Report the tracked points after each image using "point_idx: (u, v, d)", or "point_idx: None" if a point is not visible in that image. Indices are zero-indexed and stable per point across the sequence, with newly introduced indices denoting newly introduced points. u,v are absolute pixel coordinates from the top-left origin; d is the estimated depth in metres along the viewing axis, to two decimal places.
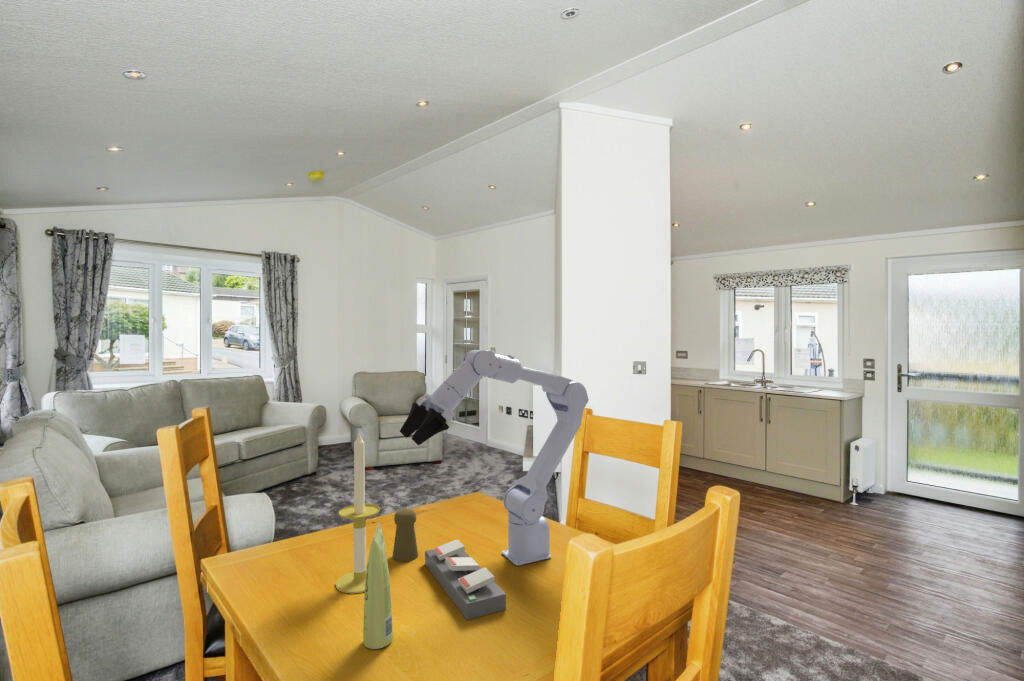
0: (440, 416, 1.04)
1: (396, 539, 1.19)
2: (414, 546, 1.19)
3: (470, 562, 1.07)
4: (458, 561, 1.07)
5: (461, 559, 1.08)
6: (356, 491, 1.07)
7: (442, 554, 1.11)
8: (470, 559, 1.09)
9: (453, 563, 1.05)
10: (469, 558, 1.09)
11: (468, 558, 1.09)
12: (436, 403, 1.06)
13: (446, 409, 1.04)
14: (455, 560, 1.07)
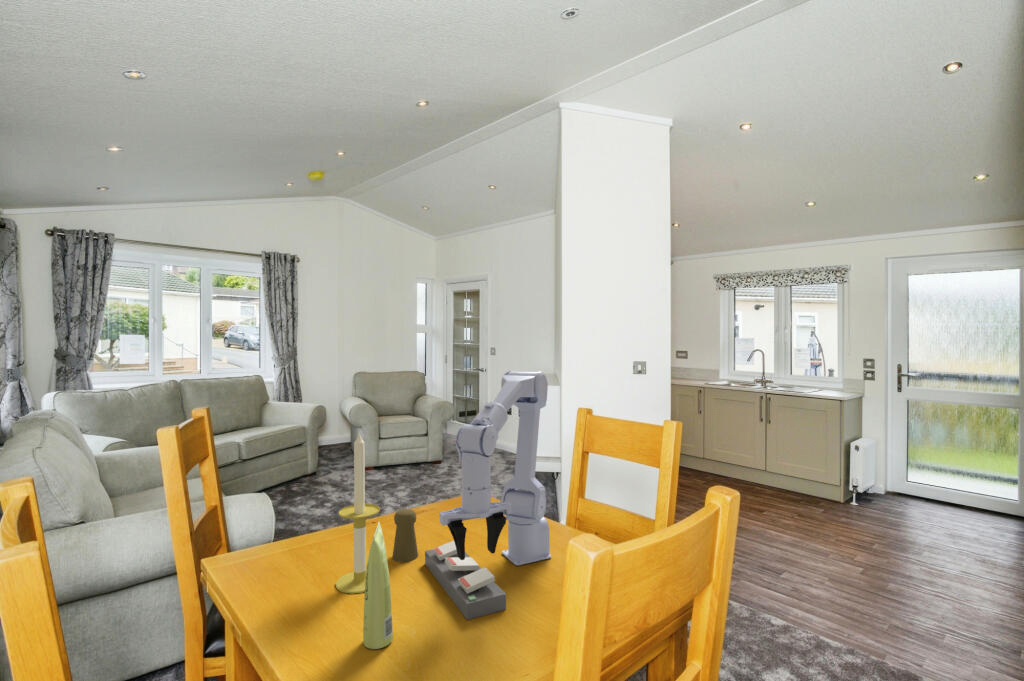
0: None
1: (396, 539, 1.19)
2: (414, 546, 1.19)
3: (470, 562, 1.07)
4: (458, 561, 1.07)
5: None
6: (356, 491, 1.07)
7: (442, 554, 1.11)
8: (470, 559, 1.09)
9: (453, 563, 1.05)
10: (469, 558, 1.09)
11: (468, 558, 1.09)
12: (495, 511, 0.99)
13: (508, 506, 1.02)
14: (455, 560, 1.07)
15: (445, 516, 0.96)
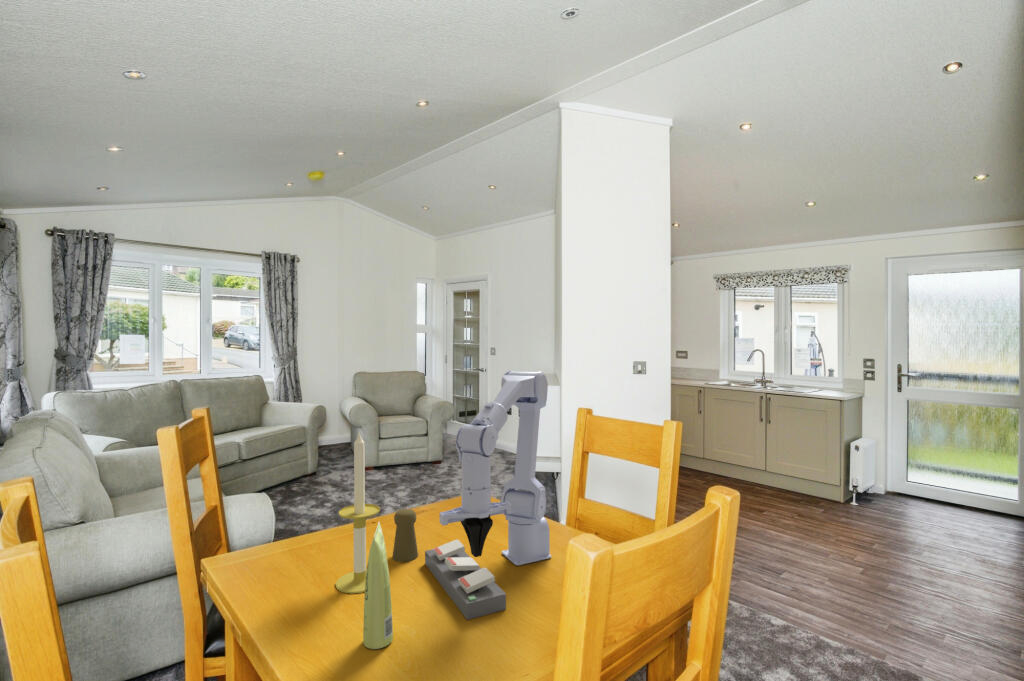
0: None
1: (396, 539, 1.19)
2: (414, 546, 1.19)
3: (470, 562, 1.07)
4: (458, 561, 1.07)
5: (461, 559, 1.08)
6: (356, 491, 1.07)
7: (442, 554, 1.11)
8: (470, 559, 1.09)
9: (453, 563, 1.05)
10: (469, 558, 1.09)
11: (468, 558, 1.09)
12: (495, 511, 0.99)
13: (508, 506, 1.02)
14: (455, 560, 1.07)
15: (445, 516, 0.96)
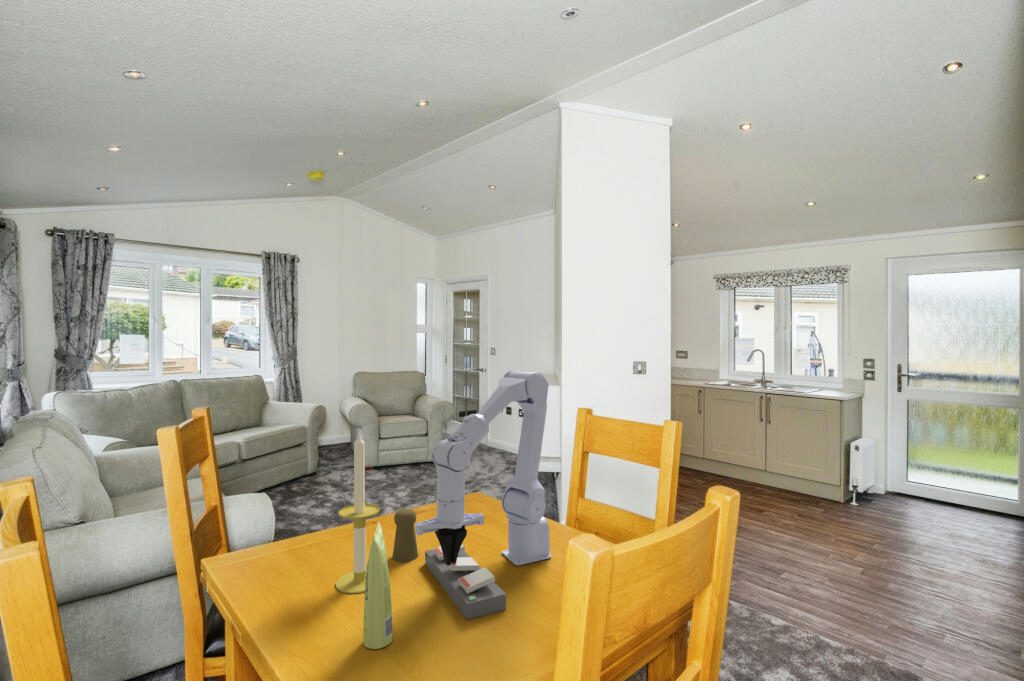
0: None
1: (396, 539, 1.19)
2: (414, 546, 1.19)
3: (470, 562, 1.07)
4: (458, 561, 1.07)
5: (461, 559, 1.08)
6: (356, 491, 1.07)
7: (442, 554, 1.11)
8: (470, 559, 1.09)
9: (453, 563, 1.05)
10: (469, 558, 1.09)
11: (468, 558, 1.09)
12: (468, 522, 1.05)
13: (481, 518, 1.08)
14: None
15: (420, 526, 1.02)
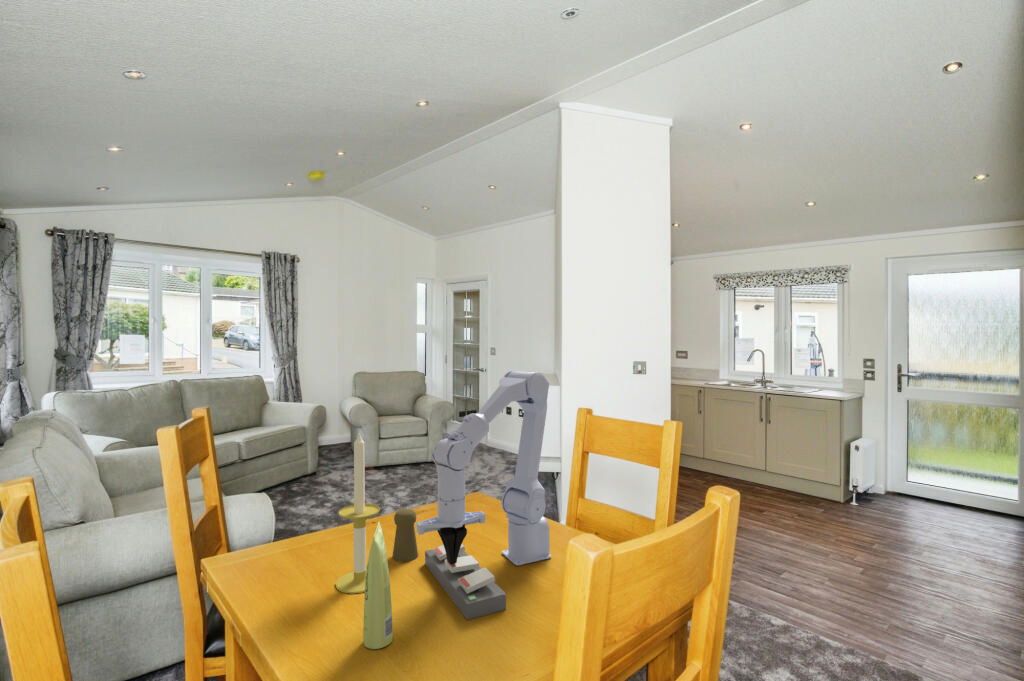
0: None
1: (396, 539, 1.19)
2: (414, 546, 1.19)
3: (469, 561, 1.07)
4: (458, 561, 1.07)
5: (461, 559, 1.08)
6: (356, 491, 1.07)
7: (442, 554, 1.11)
8: (470, 558, 1.09)
9: (452, 565, 1.05)
10: (469, 556, 1.09)
11: (468, 557, 1.09)
12: (469, 521, 1.05)
13: (482, 516, 1.08)
14: None
15: (421, 526, 1.02)
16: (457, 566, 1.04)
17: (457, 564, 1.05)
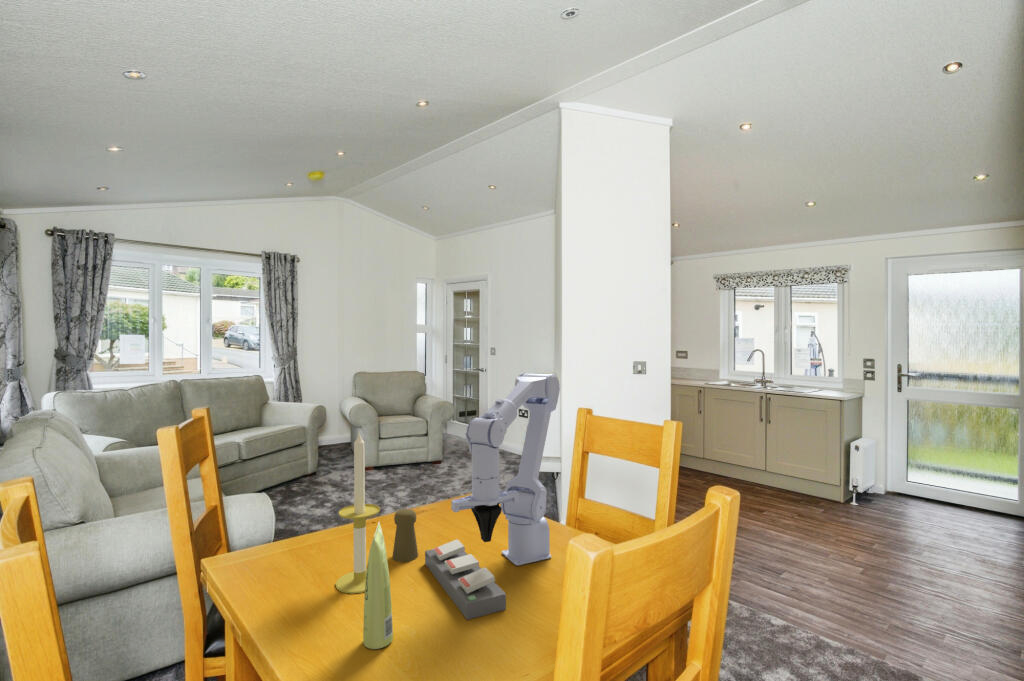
0: None
1: (396, 539, 1.19)
2: (414, 546, 1.19)
3: (469, 560, 1.07)
4: (458, 561, 1.07)
5: (461, 559, 1.08)
6: (356, 491, 1.07)
7: (442, 554, 1.11)
8: (469, 557, 1.09)
9: (452, 566, 1.04)
10: (469, 555, 1.09)
11: (468, 556, 1.09)
12: (503, 499, 1.05)
13: (516, 495, 1.08)
14: (454, 562, 1.07)
15: (456, 503, 1.02)
16: (457, 567, 1.04)
17: (457, 565, 1.05)
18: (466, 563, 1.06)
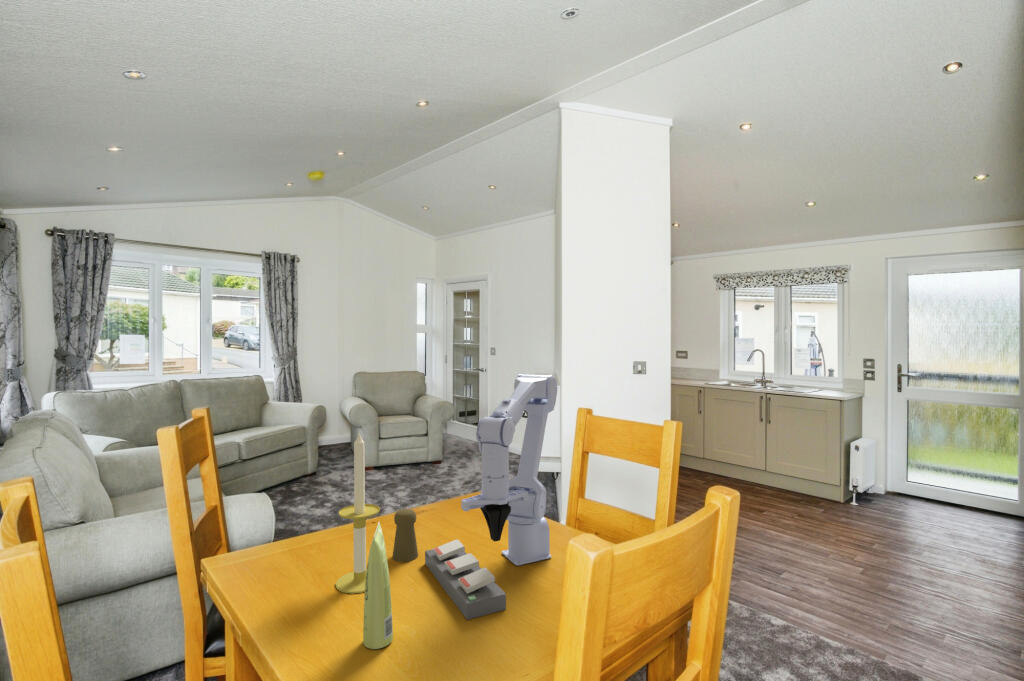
0: None
1: (396, 539, 1.19)
2: (414, 546, 1.19)
3: (469, 560, 1.07)
4: (458, 562, 1.07)
5: (461, 558, 1.08)
6: (356, 491, 1.07)
7: (442, 554, 1.11)
8: (469, 556, 1.09)
9: (452, 567, 1.04)
10: (468, 555, 1.09)
11: (467, 555, 1.09)
12: (513, 498, 1.05)
13: (525, 494, 1.08)
14: (454, 562, 1.07)
15: (467, 502, 1.02)
16: (457, 567, 1.04)
17: (457, 565, 1.05)
18: (466, 563, 1.06)
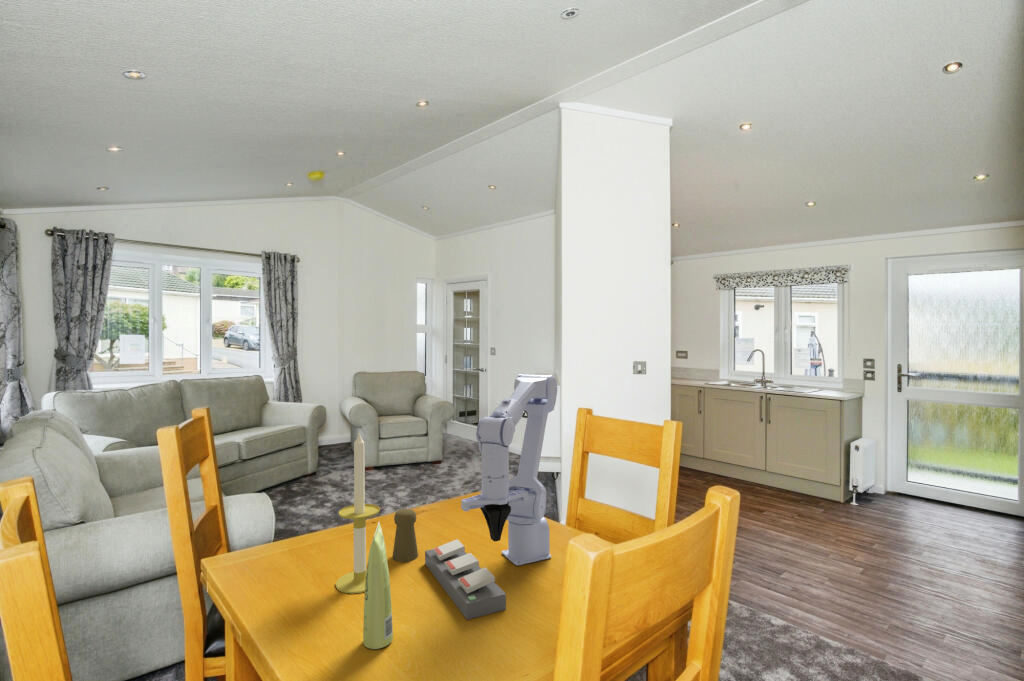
0: None
1: (396, 539, 1.19)
2: (414, 546, 1.19)
3: (469, 560, 1.07)
4: (458, 562, 1.07)
5: (461, 558, 1.08)
6: (356, 491, 1.07)
7: (442, 554, 1.11)
8: (469, 556, 1.09)
9: (452, 567, 1.04)
10: (468, 555, 1.09)
11: (467, 555, 1.09)
12: (513, 498, 1.05)
13: (525, 494, 1.08)
14: (454, 562, 1.07)
15: (467, 502, 1.02)
16: (457, 568, 1.04)
17: (457, 565, 1.05)
18: (466, 563, 1.06)
